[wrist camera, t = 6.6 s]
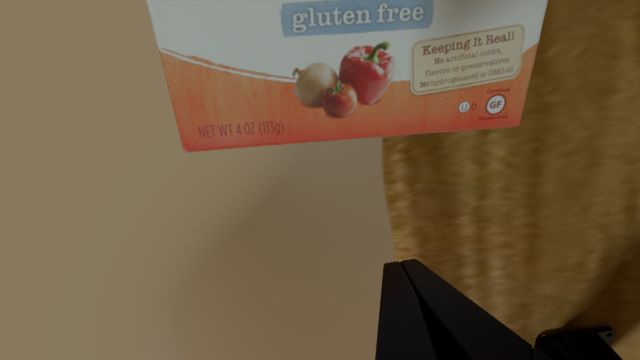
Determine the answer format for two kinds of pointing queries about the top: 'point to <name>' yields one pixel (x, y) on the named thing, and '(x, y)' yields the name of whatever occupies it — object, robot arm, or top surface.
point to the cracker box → (343, 67)
